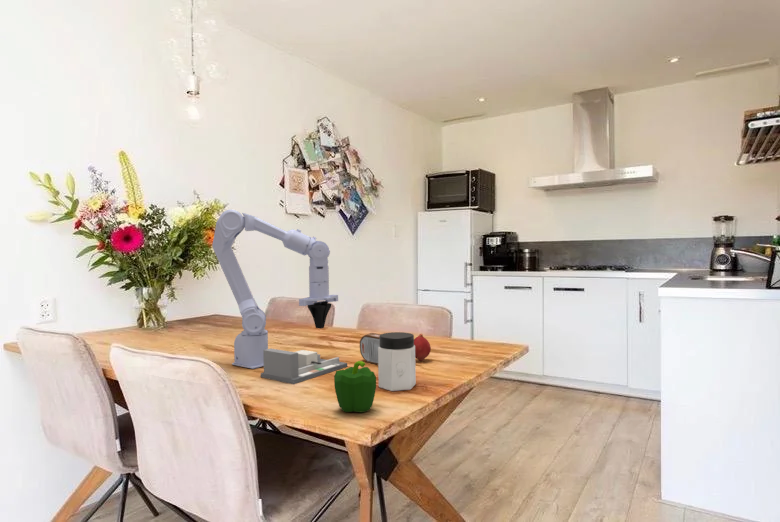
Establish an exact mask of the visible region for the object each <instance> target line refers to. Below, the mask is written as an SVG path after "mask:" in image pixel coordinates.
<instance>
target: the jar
mask: <svg viewBox="0 0 780 522" xmlns="http://www.w3.org/2000/svg"><path fill="white" fill-rule="evenodd" d="M414 339H415V335H414V334H413V333H410V332H403V331H402V332H401V331H399V332H398V331H395V332H394V331H393V332H384V333H381V335H380V336H379V346H380V347H378V365H377V367H378V368H377V370H378V371H377V372H378V376H377V377H378V379H377V380H378V388H381V389H383V390H387V391H390V392H398V391H407V390H408V391H409V390H410V391H411V389H413V387H414V386H416V383H417V382H416V381H417V378H416V377H417V376H416V375H417V374H416V372H417V371H416V358H415V345H414Z"/></svg>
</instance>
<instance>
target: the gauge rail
mask: <svg viewBox="0 0 780 522" xmlns="http://www.w3.org/2000/svg"><path fill="white" fill-rule="evenodd" d="M263 354H264V366H263V372H261V373H260V378H264V379H267V380H272V381H277V382H281V383H282V382H283V383H287V384H292V385H295V384H298V383H301V382H305V381H307V380H311V379H313V378H317V377H320V376H323V375H326V374H330V373H332V372H336V371H339V370H343V369H344V368H345V369H346V367H347V368H348V362H343V361H340V357H338V356H337V357H333V358H329V359H325V358H321V354H319V353H317V362H321V364H312V365H309V366H305V367H302V368H298V353H297V352H296V351H290V350H284V349H278V348H277V349H276V348H268V349H266V350H263Z"/></svg>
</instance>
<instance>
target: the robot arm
mask: <svg viewBox="0 0 780 522" xmlns="http://www.w3.org/2000/svg"><path fill="white" fill-rule="evenodd" d="M243 231H245V232H252V231H253V232H254V231H256V232H259V233H260V234H261V233H262V234H264V235H267V236H269V237H272V238H274V239H276V240H279V241H282V244H283V246H284V248H286V249H289V250H290V251H293V252H296V253H298V254H300V255H302V256H305V257H306V256H308V257H309V266H308V284H309V285H308V286H309V287H308V289H309V292H308V293H309V296H308V297H304V298H298V306H299V307H306V306H307V308H308V310H309V311H310V314H311V316H312V319H313V322H314V326H315V329H318V330H319V329H322V330H323V329H324V328H325V324H326V320H327V316H328V314H329V312H330V309H331V308H332V303H333V302H334V303H335V302H336V303H337V302H339V294H330V282H329V281H330V280H329V279H330V276H329V275H330V272H329V269H330V268H329V260H328V259H329V258H328V257H329V256H330V254H331V250H330V248H329V245H328V244H327V243H326V242H324V241H321V240H317V237H316V236H310V235H308V234H305V233H303V232H302V230H301V229H300V228H297V229H295V228H294V229H293V228H292V229H290V230H289V229H288V230H284V229H283V228H281V227H278V226H276V225H274V224H272V223H270V222H268V221H266V220H264V219H262V218H259V217H258V216H254V215H252V214H248V213H246V212H240V211H238V210H236V209H233V208H232V209H231V208H230V209H226V210H225V211H223V212H222V213H221V214H220V216H219V217H218V219H217V220H216V222H215V229H214V234H213V235H214V236H213V239H212V249H213V251H214V254H215V256H216V258H217V261H218V263H219V265H220V267H221V269H222V272H223V274H224V276H225V278H226V281H227V284H228V286H229V287H230V291H231V292H232V295H233V297H234V299H235V301H236V304H237V306H238V309H239V313H240V316H241V319H242V320H241V326H242V329H243V330H242V331H241V332H240V333H238V334H237V335H236V336H235V339H234V342H233V348H234V350H233V352H234V353H233V356H234V359H233V360H234V362H232V363H231V365H232V366H237V367H242V368H248V369H253V370H254V369H259V368H261V367H264V354H263V350H266V349H269V334H268V333H269V331H268V330H267V329H265V328H266V325H267V318H266V317H267V316H266V313H265V312H264V311H263V310H262V309H261V308H260V307H259V306H258V304H257V301H256V300H255V298H254V296H253V294H252V291H251V289H250V287H249V284H248V281H247V280H246V278H245V276H244V273H243V270H242V267H241V266H240V264H239V262H238V259H237V257H236V255H235V252H234V250H233V245H234V243H235V241H236V239H237V237H238V236H239V235H240V234H241V233H242V232H243ZM331 302H332V303H331Z"/></svg>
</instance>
